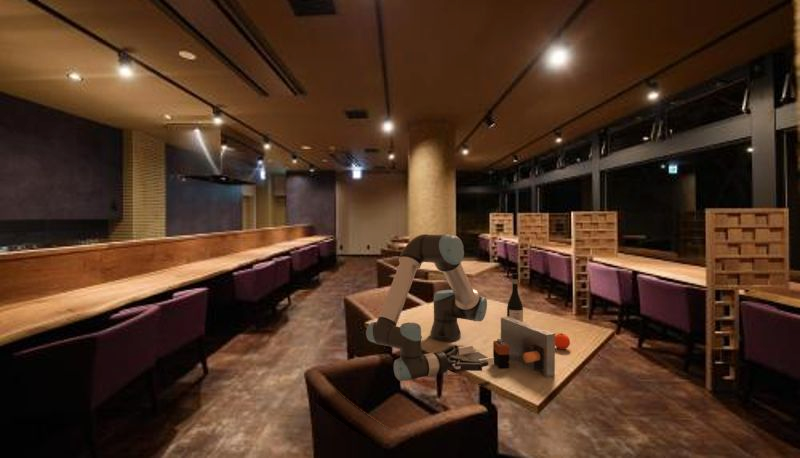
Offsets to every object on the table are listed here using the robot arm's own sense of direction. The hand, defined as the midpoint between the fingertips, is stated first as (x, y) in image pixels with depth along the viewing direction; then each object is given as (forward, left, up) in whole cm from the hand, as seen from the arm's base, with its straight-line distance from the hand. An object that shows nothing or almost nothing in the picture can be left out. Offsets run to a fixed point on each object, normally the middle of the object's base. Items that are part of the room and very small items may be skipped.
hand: (482, 354), depth 143 cm
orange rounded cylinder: (+12, +14, -1) cm, 18 cm away
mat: (-10, +5, -6) cm, 13 cm away
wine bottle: (-34, +46, -6) cm, 58 cm away
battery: (0, +9, -6) cm, 11 cm away
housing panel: (+3, +19, -6) cm, 20 cm away
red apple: (-4, +46, -6) cm, 47 cm away
